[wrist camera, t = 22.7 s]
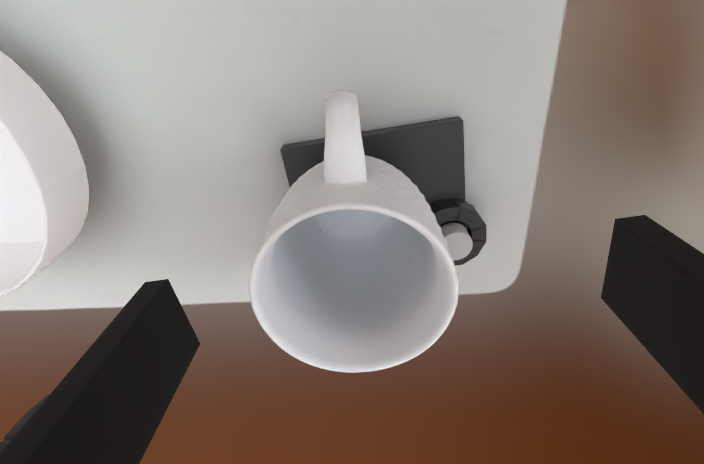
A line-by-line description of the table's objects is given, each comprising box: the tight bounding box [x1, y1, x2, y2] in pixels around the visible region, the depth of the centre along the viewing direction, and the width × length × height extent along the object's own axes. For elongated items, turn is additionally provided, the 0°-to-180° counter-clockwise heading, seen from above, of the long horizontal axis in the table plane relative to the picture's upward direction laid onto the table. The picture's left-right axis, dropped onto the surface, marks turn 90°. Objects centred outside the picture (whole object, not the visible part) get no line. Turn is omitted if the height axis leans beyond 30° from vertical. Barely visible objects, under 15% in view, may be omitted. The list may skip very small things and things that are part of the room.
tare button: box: [441, 223, 473, 260], centre depth 30 cm, size 3×3×2 cm
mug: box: [249, 90, 459, 372], centre depth 24 cm, size 15×11×13 cm
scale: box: [281, 117, 486, 265], centre depth 31 cm, size 15×12×3 cm
